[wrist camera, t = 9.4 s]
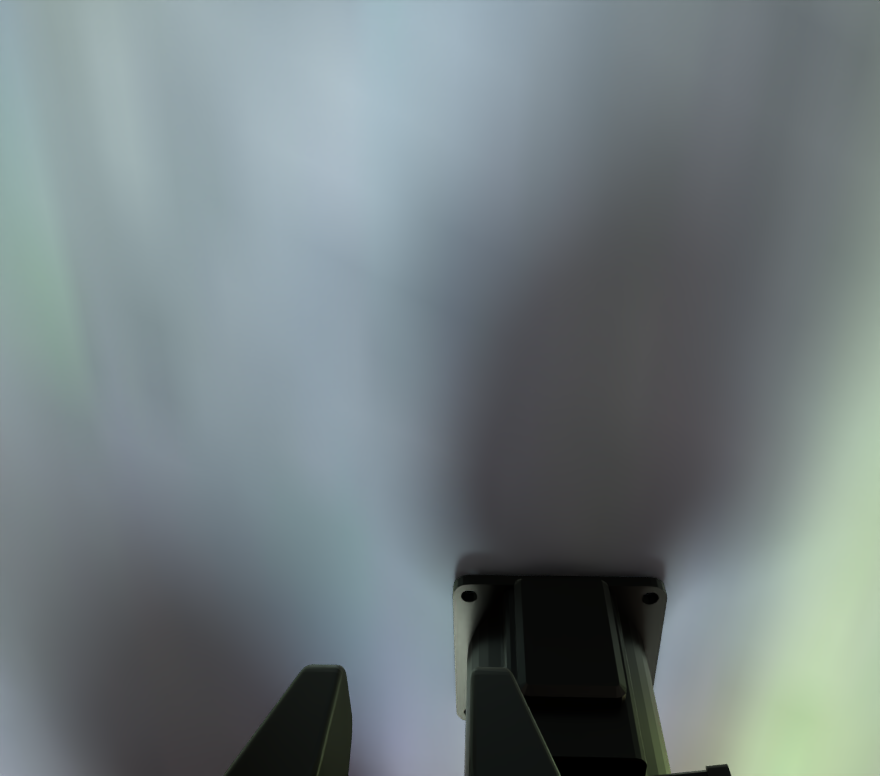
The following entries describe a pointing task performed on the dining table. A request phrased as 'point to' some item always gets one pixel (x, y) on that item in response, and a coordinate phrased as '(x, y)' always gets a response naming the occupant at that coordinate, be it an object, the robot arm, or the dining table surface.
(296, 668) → the dining table surface
